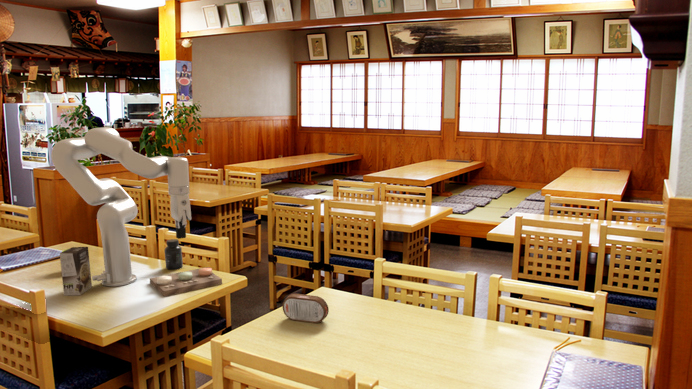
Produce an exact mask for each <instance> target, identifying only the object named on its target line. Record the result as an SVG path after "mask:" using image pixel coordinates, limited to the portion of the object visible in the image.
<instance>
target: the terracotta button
mask: <svg viewBox="0 0 692 389" xmlns="http://www.w3.org/2000/svg"><path fill="white" fill-rule="evenodd" d="M198 269H199V270H198V271H199V276H209V275H211V274H212V273H213V268H212V267H201V269H200V268H198Z"/></svg>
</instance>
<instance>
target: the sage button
mask: <svg viewBox="0 0 692 389" xmlns="http://www.w3.org/2000/svg"><path fill="white" fill-rule="evenodd" d="M178 273H179V274H178V279H179V280H182V281H184V280H189V279H192V278H193V277H192V272H185V271H181V273H180V272H178Z"/></svg>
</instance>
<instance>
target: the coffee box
mask: <svg viewBox="0 0 692 389" xmlns="http://www.w3.org/2000/svg"><path fill="white" fill-rule="evenodd" d="M67 249H68V250H66V251H63V250H62V251H63V252H62V251H61V252H60V253H59V260H60V269H61V278H62V279H61V280H62V281H61V282H62V291H63V296H81V295H82V294H84V293H86V292H87V291H89V290H90V289H91V288H92V287H93V284H92V273H91V264H90V255H89V246H72V247H70V249H69V248H67Z"/></svg>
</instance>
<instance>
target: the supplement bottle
mask: <svg viewBox="0 0 692 389" xmlns="http://www.w3.org/2000/svg"><path fill="white" fill-rule="evenodd" d="M179 244H180V243H179V239H178V238H174V239H173V238H171V239H166V247H165V248H164V260H165V269H167V271H176V270H177V269H178V270H180V268H181V269H182V268H183V267H184V265H183V263H184V262H183V250H182V247H181V245H179ZM178 270H177V271H178Z"/></svg>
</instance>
